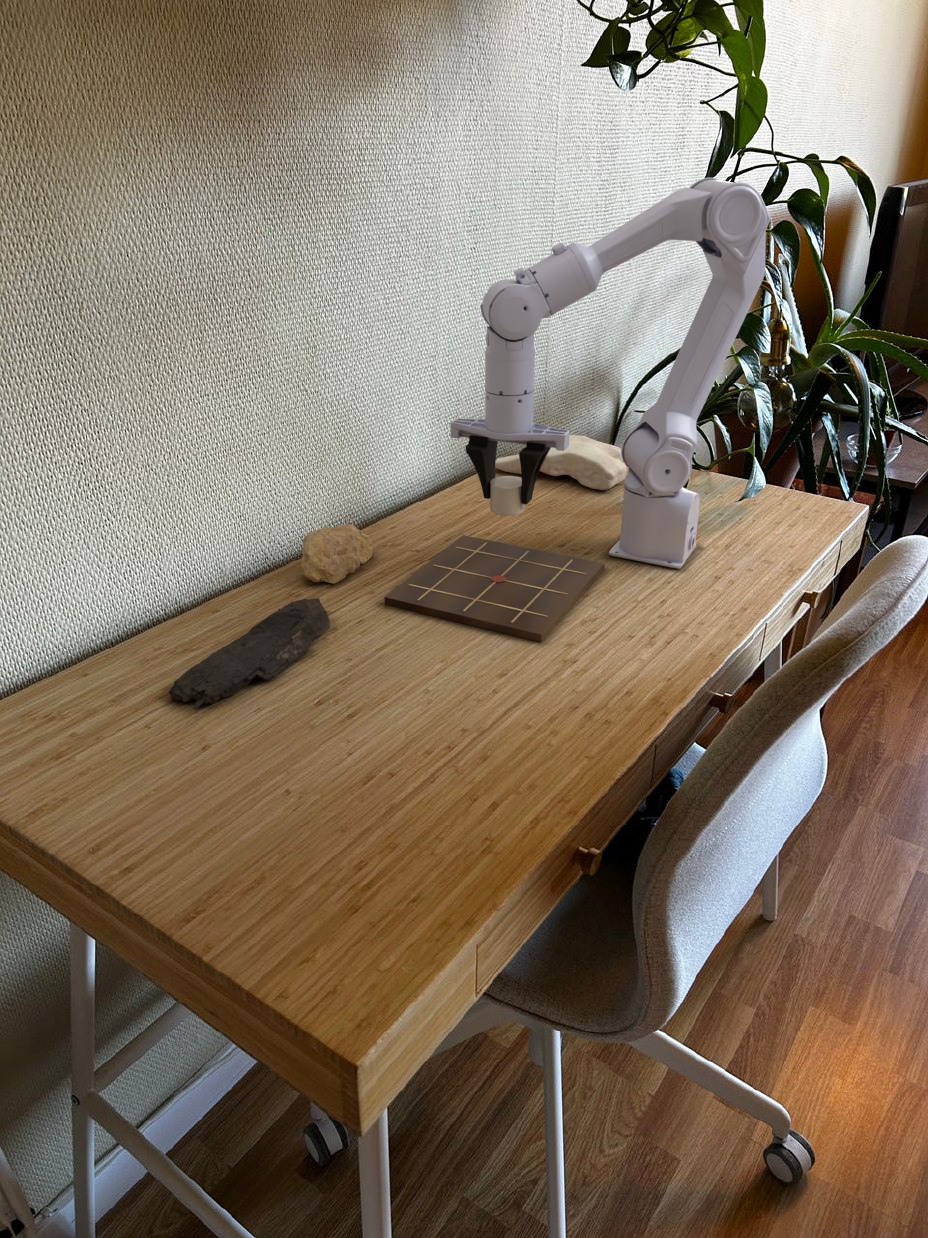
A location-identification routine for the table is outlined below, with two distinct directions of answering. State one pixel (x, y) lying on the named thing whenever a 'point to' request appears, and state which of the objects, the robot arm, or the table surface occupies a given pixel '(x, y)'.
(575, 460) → the decorative stone
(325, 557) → the stone tool
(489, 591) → the board
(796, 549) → the table surface
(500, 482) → the cream short cylinder
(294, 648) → the wood
